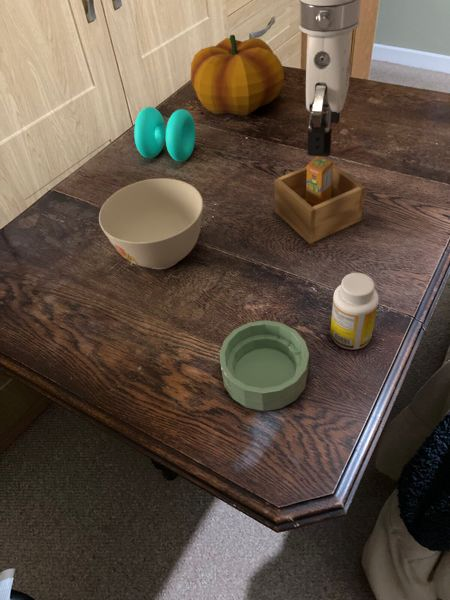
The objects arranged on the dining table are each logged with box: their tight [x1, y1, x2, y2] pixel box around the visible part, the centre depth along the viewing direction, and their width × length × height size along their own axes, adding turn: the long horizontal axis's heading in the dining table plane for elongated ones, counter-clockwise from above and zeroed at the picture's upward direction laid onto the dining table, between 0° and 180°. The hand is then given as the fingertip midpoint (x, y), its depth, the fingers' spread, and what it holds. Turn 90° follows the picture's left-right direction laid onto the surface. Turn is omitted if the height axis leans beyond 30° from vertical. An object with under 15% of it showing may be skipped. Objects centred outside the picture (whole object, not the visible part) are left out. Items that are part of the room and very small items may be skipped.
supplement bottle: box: [329, 272, 379, 350], centre depth 64 cm, size 6×6×10 cm
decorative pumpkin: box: [190, 34, 285, 116], centre depth 111 cm, size 20×22×15 cm
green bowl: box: [218, 319, 310, 412], centre depth 63 cm, size 11×11×4 cm
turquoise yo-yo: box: [133, 106, 196, 163], centre depth 100 cm, size 10×10×10 cm
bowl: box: [98, 177, 204, 270], centre depth 79 cm, size 16×16×10 cm
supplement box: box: [306, 156, 334, 207], centre depth 81 cm, size 3×4×10 cm
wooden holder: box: [273, 158, 366, 245], centre depth 83 cm, size 11×11×7 cm
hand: (323, 137), depth 74 cm, fingers open, 9 cm apart
